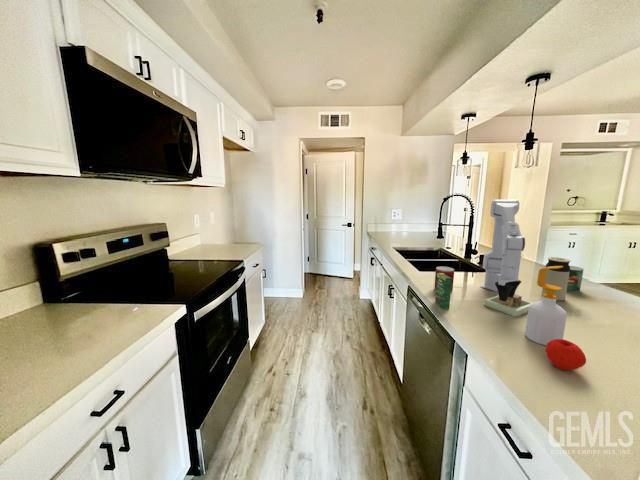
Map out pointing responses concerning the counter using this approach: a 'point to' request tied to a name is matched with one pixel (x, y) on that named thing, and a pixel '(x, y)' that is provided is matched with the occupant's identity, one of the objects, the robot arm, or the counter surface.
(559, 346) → the apple
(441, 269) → the canned food
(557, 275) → the travel mug
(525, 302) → the tray
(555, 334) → the soap bottle
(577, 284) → the canned tomato
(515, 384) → the counter surface
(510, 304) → the block
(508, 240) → the robot arm
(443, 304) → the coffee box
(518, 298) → the block
